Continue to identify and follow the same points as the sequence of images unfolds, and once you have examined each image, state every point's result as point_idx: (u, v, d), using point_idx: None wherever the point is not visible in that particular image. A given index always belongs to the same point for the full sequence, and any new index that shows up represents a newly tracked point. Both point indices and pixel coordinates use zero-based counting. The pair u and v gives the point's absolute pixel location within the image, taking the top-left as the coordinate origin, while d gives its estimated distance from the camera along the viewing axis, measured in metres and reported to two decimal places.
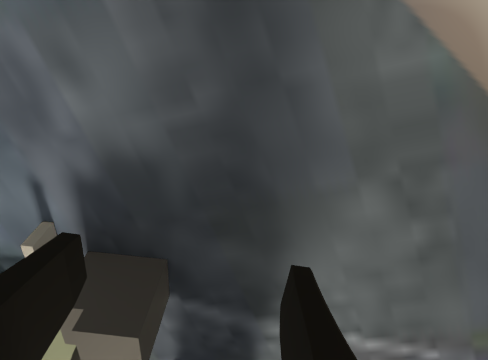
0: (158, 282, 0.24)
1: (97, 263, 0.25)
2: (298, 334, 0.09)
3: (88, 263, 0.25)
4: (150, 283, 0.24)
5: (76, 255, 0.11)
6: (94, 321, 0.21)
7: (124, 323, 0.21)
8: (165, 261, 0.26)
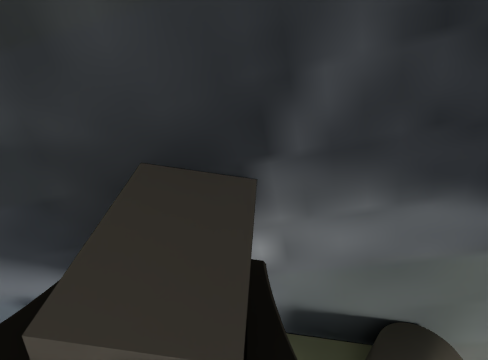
0: (117, 201, 0.10)
1: None
2: None
3: None
4: None
5: None
6: None
7: None
8: (138, 168, 0.12)
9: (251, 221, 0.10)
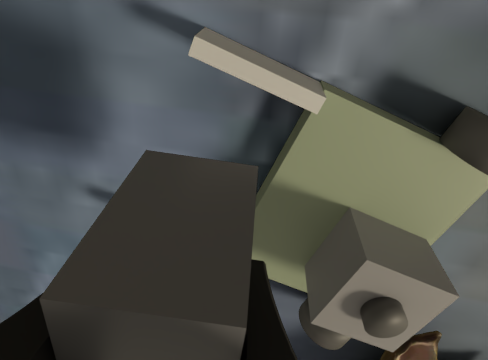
0: (124, 184, 0.10)
1: None
2: None
3: None
4: None
5: None
6: None
7: None
8: (144, 155, 0.12)
9: (253, 203, 0.10)
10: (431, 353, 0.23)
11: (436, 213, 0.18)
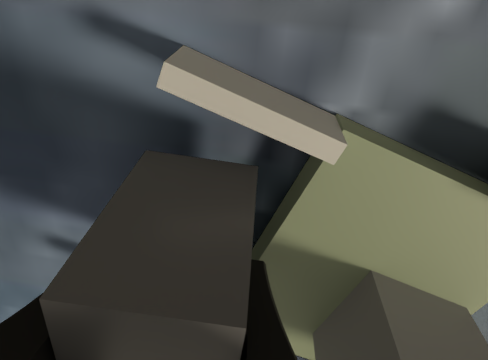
0: (124, 184, 0.10)
1: None
2: None
3: None
4: None
5: None
6: None
7: None
8: (144, 155, 0.12)
9: (253, 203, 0.10)
10: None
11: (482, 279, 0.14)
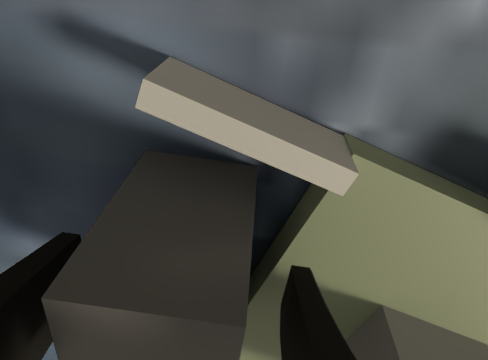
0: (125, 183, 0.10)
1: None
2: (298, 334, 0.09)
3: None
4: None
5: None
6: None
7: None
8: None
9: (253, 202, 0.10)
10: None
11: None
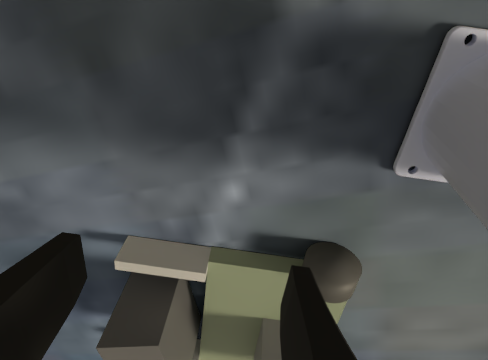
0: (123, 292, 0.24)
1: None
2: (298, 334, 0.09)
3: None
4: None
5: (76, 255, 0.11)
6: None
7: None
8: (132, 272, 0.26)
9: (174, 289, 0.24)
10: None
11: None
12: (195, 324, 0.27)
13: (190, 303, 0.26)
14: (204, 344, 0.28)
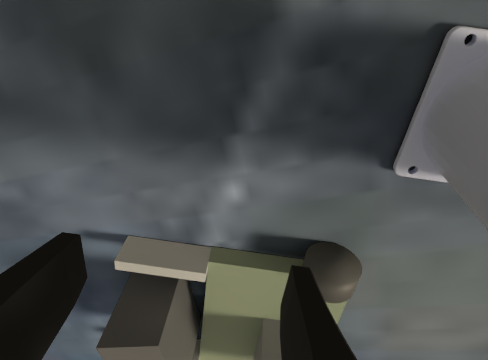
0: (123, 292, 0.24)
1: None
2: (298, 334, 0.09)
3: None
4: None
5: (76, 255, 0.11)
6: None
7: None
8: (132, 272, 0.26)
9: (174, 289, 0.24)
10: None
11: None
12: (195, 324, 0.27)
13: (190, 304, 0.26)
14: (204, 344, 0.28)
